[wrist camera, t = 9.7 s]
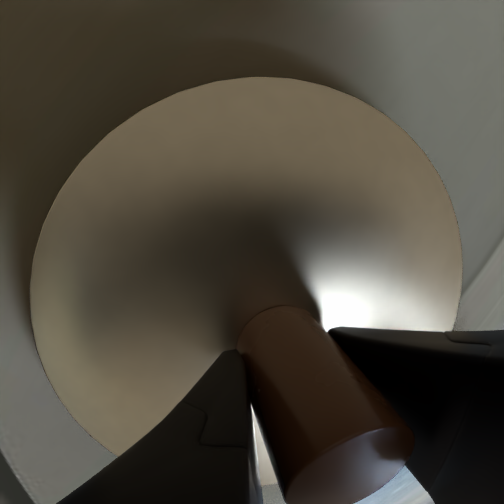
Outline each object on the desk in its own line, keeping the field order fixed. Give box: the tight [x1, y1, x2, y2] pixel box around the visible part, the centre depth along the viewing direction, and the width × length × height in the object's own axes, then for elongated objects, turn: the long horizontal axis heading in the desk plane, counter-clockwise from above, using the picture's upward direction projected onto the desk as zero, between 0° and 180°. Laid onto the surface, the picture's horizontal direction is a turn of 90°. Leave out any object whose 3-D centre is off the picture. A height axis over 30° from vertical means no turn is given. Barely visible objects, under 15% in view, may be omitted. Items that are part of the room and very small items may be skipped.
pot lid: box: [29, 77, 463, 504], centre depth 7 cm, size 15×15×6 cm
